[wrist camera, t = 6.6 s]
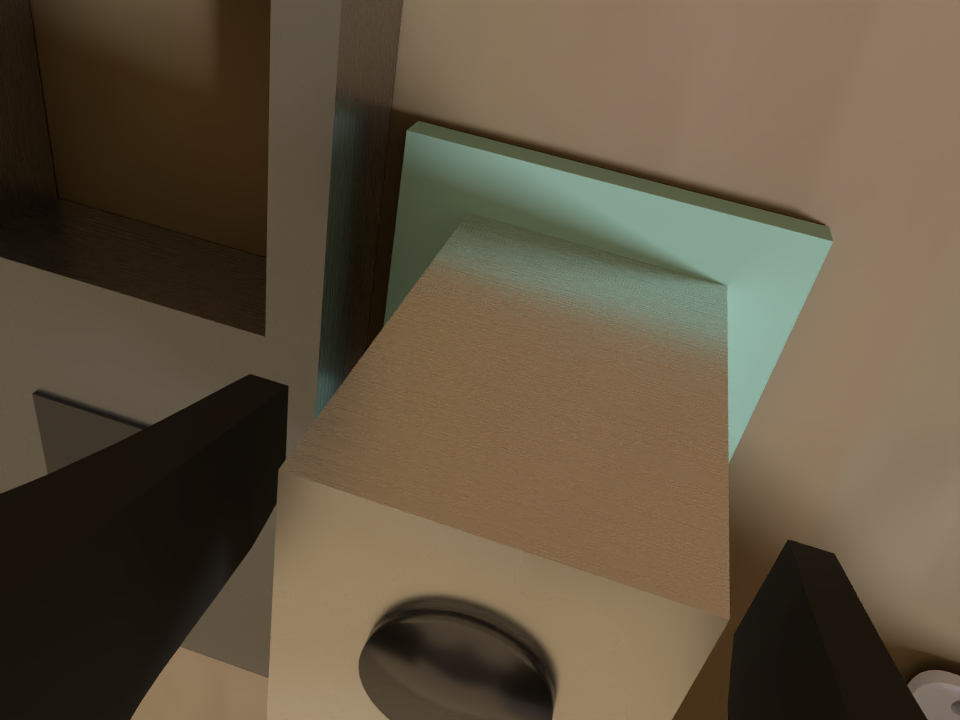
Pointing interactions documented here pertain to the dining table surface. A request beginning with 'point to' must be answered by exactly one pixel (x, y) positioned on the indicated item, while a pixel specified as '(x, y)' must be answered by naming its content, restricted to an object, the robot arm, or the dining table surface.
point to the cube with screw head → (512, 497)
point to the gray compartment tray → (196, 277)
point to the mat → (615, 236)
